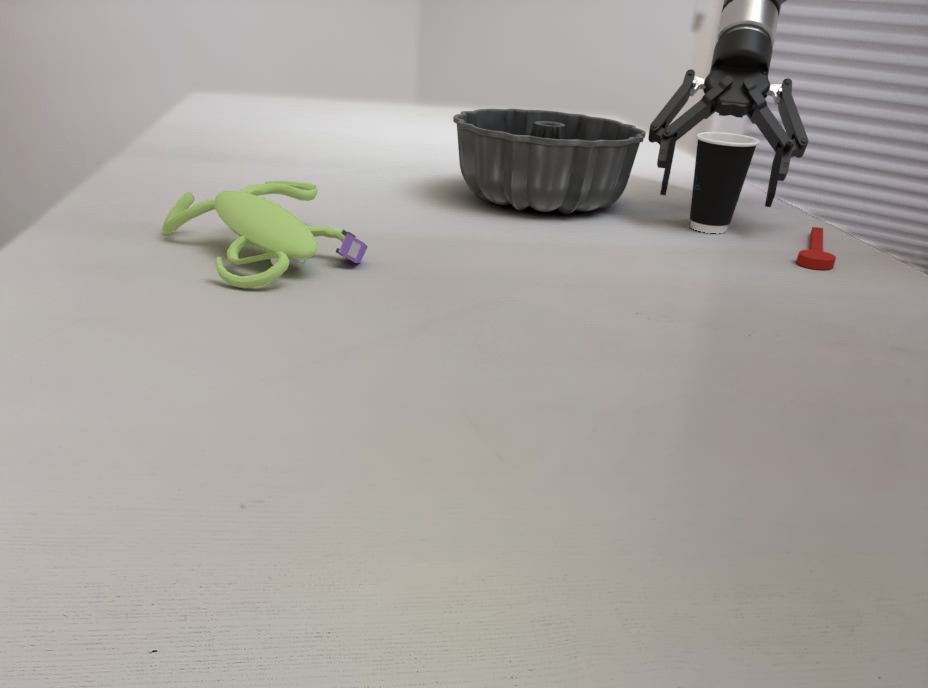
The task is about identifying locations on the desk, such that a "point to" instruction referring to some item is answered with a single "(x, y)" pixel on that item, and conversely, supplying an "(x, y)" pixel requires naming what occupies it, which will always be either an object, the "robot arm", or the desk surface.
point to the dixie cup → (719, 178)
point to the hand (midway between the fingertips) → (716, 194)
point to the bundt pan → (545, 158)
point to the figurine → (264, 229)
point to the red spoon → (816, 253)
